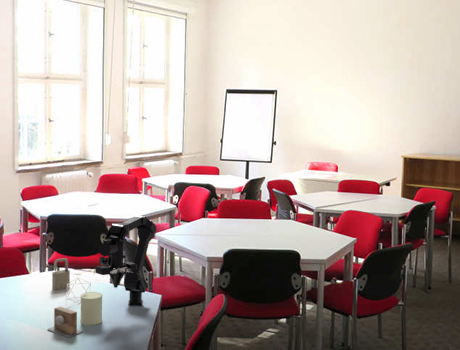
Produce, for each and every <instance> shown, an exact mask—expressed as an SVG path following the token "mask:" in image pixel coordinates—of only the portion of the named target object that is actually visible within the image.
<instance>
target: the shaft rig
mask: <svg viewBox="0 0 460 350" xmlns="http://www.w3.org/2000/svg"><path fill="white" fill-rule="evenodd" d="M53 310H54V313H53V314H54V315H53V316H54V317H53V322H54V323H53V324H54V326H52V327H49V328H47V331H49V332H52V333H54V334H57V335H60V336H62V337H65V338H68V339H70V338H74V337H75V336H78V335H80V334H82V333H83V331H82V330H79V329H78V328H77V327H78V325H77V324H78V319H77V318H78V316H77V315H78V314H77V313H78V311H76V310H73V309H69V308H67V307H64V306H58V307H54V309H53Z"/></svg>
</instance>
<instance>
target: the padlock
mask: <svg viewBox="0 0 460 350" xmlns="http://www.w3.org/2000/svg"><path fill="white" fill-rule="evenodd" d="M59 262H64V269H61V270H58V263H59ZM53 269H54V272H52V275H51V276H52V279H51V280H52V287H51V288H52V289H53V290H63V289H68V288H69V287H70V285H67V284H68V283H69V284H71V283H70V282H71V281H70V274H71V273H70V270H69V260H68V258H66V257H63V258H57V259H55V260H54V261H53ZM68 286H69V287H68Z"/></svg>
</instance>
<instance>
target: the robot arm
mask: <svg viewBox="0 0 460 350" xmlns="http://www.w3.org/2000/svg"><path fill="white" fill-rule="evenodd" d="M157 228H158V227H157V226H156V224H155V223H154V222H153V221H152V220H150V219H148V218H147V216H145V215H140V214H139V215H138V214H136V215H135V216H133V217H131V218H129V219H127V220H126V221H123V222H113V223H111V225H109V228H108V231H107V233H106V234H105V237H104V239H103V241H102V243H101V244H99V247H98V252H99V254H100V255H101V256H100V257H98V264H99V265H97V266H96V267H95V269H94V270H95V271H94V272H95V274H99V275H100V276H101V275H102V276H108V275H109V277H110V279H111V282H112V285H113V287H114V288H115V289H117V288H118V286H119V285H120V283H121V281H122V279H123V277H124V281H123V285H124V290H125V291H127V292H129V294H128V295H129V300H128V304H127V306H143V303H144V302H143V299H142V298H143V293H146V291H147V285H146V284H145V282H144V277H145V276H144V275H143V267H144V264H145V260H146V256H147V251H148V248H149V245H150V242H151V241H152V240H153V239H154V237H155V234H156V232H157ZM135 229H137V237H138V243H137V245H136V247H137V248H136V249H135V253H134V258H133V262H131V261H127V262H126V261H125V262H124V259H125V258H126V255H125V243H126V242H127V240H128V239H126V237H127V236H128V235H129V233H130V232H131V231H133V230H135ZM127 269H130V270H129V271H125V270H127Z"/></svg>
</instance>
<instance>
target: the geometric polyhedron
mask: <svg viewBox="0 0 460 350" xmlns="http://www.w3.org/2000/svg"><path fill="white" fill-rule="evenodd" d="M74 281H75V282H74ZM77 281H78V283H77ZM81 281H84V282H81ZM72 282H74V283H73V284H72ZM76 284H77V285H81V286H82V288H83V289H84V291H85V292H84V293H86V292H88V290H91V286H92V282H90V281H88V280H85V279H82V278H80V277H76V278H75V279H73V280H72V281H70V284H69V283H68V284H67V285H72V287H71V288H70V287H69V286H68V287H67V288H69V290H70V291H69V292H68V293H67V295H66V299H67V300H69V301H72V302H73V303H75V304H79V305H81V300H80V302H79V300H78V299H77V298H80V296H76V295H75V294H74V292H73V291H72V289H73V288H74V286H75V285H76ZM83 284H84V285H86V284H89V285H88V287H87V288H85V286H84V285H83ZM70 293H71V294H72V295H73V296H74V297H71V298H69V295H70ZM74 298H75V300H76V301H77V302H76V301H74V300H72V299H74Z"/></svg>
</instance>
